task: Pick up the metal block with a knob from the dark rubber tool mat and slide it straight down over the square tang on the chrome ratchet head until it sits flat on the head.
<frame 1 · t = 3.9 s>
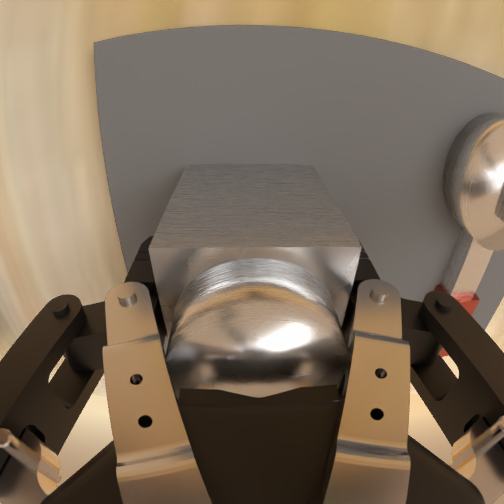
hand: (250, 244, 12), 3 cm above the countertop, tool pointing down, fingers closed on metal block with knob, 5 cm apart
metal block with knob: (249, 220, 14), point 1 cm above the countertop, touching gripper, tool mat
tool mat: (371, 231, 15), on the countertop
ratchet: (490, 173, 12), resting on tool mat
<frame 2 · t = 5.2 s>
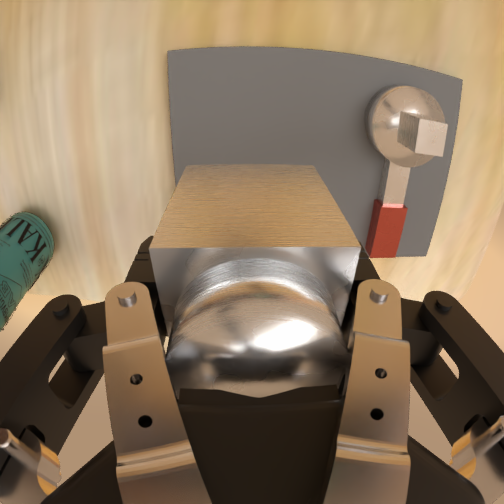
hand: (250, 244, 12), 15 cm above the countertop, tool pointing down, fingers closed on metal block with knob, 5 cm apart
metal block with knob: (249, 220, 14), point 13 cm above the countertop, touching gripper
tool mat: (323, 160, 25), on the countertop
ratchet: (399, 122, 22), resting on tool mat
beverage bottle: (38, 229, 28), on the countertop
when the fingers open (6 cm above the countertop, at t = 8.5 s): metal block with knob stays where it is, resting on ratchet.
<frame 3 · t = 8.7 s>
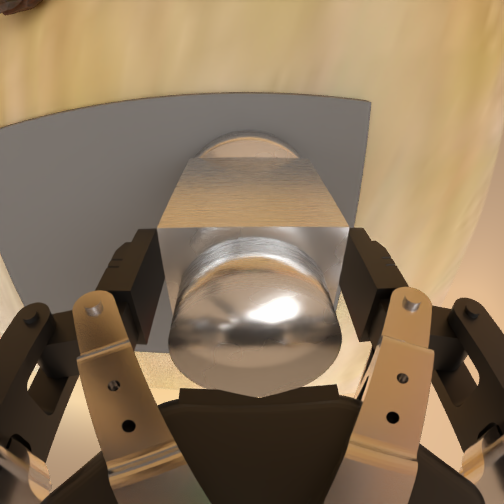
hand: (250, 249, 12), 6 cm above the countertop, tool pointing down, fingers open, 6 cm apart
metal block with knob: (248, 210, 14), point 3 cm above the countertop, touching ratchet
tool mat: (149, 249, 19), on the countertop
ratchet: (247, 191, 16), resting on tool mat
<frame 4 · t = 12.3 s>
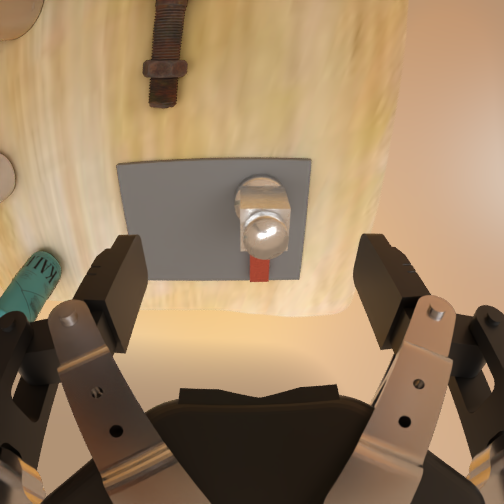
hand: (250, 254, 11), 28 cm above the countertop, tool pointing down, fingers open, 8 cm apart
metal block with knob: (261, 205, 38), point 3 cm above the countertop, touching ratchet
can: (2, 173, 36), on the countertop
bolt: (170, 43, 30), on the countertop
tool mat: (214, 223, 43), on the countertop
ratchet: (260, 197, 40), resting on tool mat
beverage bottle: (50, 259, 45), on the countertop
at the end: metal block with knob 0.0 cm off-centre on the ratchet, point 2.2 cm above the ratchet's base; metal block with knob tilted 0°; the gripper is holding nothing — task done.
